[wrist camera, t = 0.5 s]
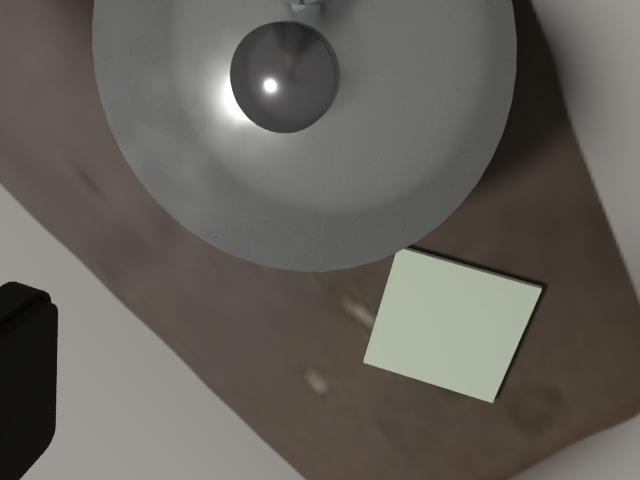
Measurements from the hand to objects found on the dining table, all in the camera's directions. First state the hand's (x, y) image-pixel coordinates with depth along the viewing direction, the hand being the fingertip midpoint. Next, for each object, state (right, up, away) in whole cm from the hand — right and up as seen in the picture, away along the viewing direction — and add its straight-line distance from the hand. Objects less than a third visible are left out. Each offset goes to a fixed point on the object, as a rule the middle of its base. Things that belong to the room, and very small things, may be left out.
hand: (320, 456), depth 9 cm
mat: (+8, -2, +29) cm, 30 cm away
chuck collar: (-1, +12, +21) cm, 24 cm away
